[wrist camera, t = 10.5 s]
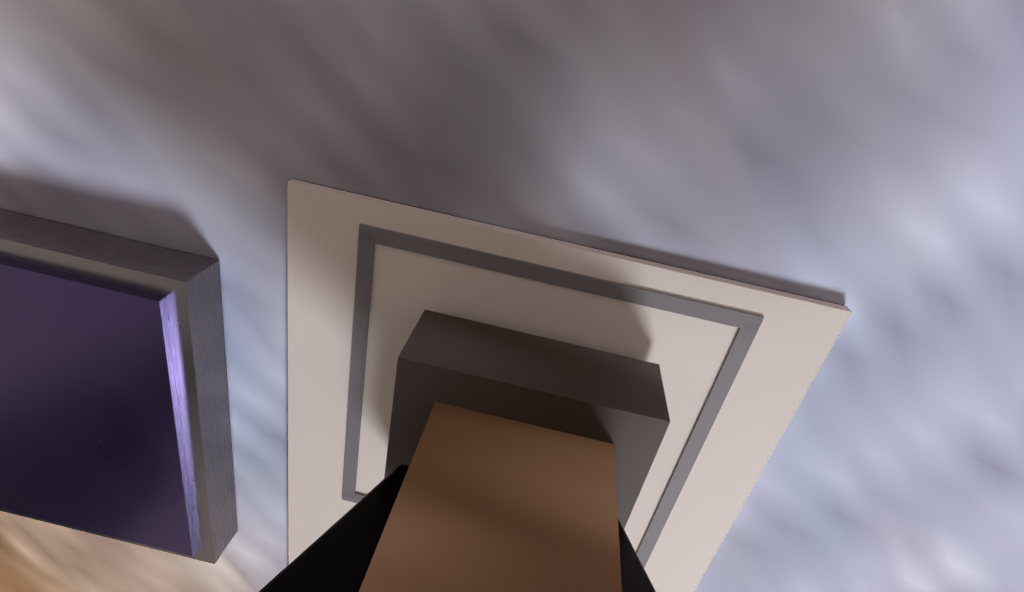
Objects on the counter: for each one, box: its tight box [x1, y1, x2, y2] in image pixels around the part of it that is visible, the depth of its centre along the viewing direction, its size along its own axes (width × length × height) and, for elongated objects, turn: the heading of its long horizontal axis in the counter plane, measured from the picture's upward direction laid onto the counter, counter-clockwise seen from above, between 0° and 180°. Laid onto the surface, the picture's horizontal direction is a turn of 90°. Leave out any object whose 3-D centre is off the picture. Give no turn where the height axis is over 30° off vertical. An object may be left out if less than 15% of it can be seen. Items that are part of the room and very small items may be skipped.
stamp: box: [359, 310, 670, 592], centre depth 8 cm, size 4×4×6 cm
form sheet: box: [287, 179, 852, 592], centre depth 13 cm, size 10×16×1 cm, turn 169°
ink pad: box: [0, 209, 238, 564], centre depth 12 cm, size 7×8×1 cm
